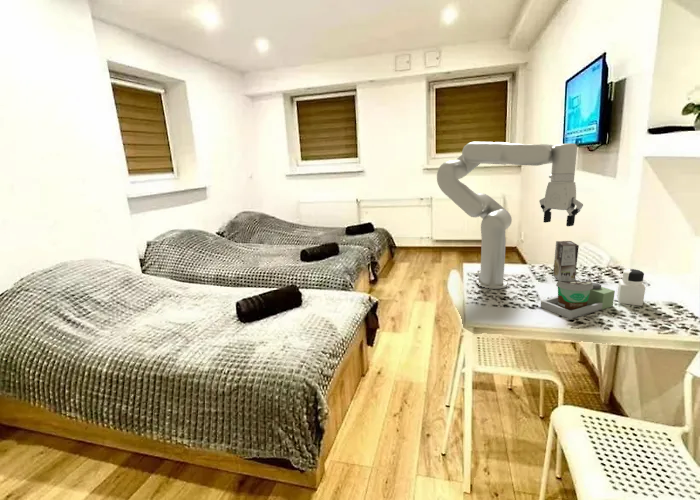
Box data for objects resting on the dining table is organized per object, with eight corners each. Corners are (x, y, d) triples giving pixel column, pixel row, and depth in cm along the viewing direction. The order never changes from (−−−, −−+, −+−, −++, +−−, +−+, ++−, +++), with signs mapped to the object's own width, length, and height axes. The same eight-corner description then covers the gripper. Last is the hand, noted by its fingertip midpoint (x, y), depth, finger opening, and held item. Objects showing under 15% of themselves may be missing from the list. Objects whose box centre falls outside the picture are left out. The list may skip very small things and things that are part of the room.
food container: (563, 313, 131) (566, 286, 128) (553, 306, 137) (556, 280, 134) (598, 311, 131) (602, 284, 128) (587, 304, 137) (590, 278, 134)
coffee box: (575, 281, 161) (579, 245, 157) (559, 281, 162) (562, 245, 158) (568, 275, 170) (571, 240, 166) (552, 274, 171) (555, 240, 167)
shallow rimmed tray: (540, 306, 138) (542, 289, 136) (581, 295, 146) (583, 278, 144) (570, 319, 127) (572, 299, 125) (612, 306, 135) (615, 288, 134)
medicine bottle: (639, 299, 140) (644, 268, 137) (642, 306, 134) (647, 274, 131) (616, 296, 144) (620, 266, 141) (618, 303, 138) (622, 272, 135)
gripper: (535, 178, 144) (531, 221, 149) (577, 180, 129) (572, 228, 133) (549, 176, 147) (545, 219, 151) (592, 178, 132) (586, 226, 136)
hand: (558, 223), depth 142 cm, fingers open, 9 cm apart
